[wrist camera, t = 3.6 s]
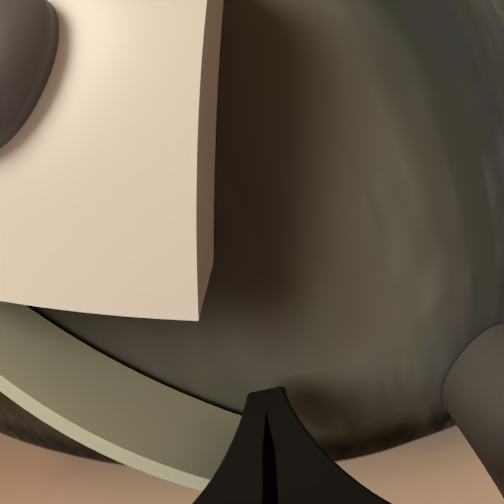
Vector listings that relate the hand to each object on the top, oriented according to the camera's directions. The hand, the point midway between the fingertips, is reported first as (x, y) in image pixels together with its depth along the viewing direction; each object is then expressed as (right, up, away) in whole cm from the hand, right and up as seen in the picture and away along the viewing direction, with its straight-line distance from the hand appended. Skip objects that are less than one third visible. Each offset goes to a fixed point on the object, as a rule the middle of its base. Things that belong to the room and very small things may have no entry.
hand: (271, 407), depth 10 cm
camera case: (-7, +10, -2) cm, 13 cm away
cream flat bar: (-7, +1, +1) cm, 7 cm away
